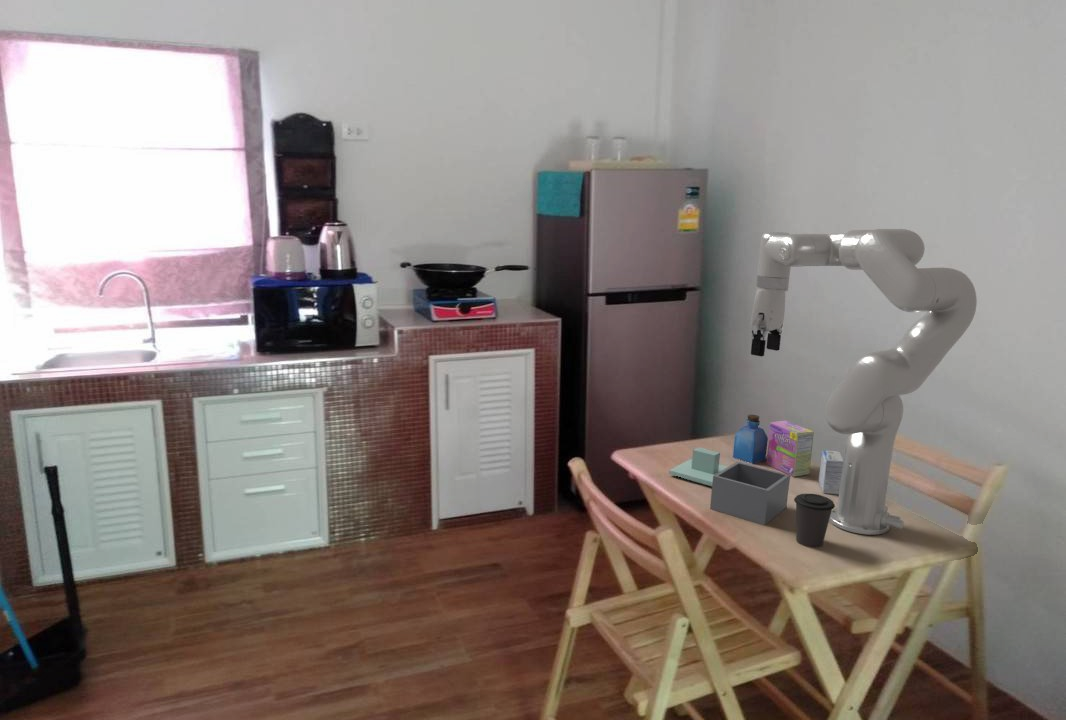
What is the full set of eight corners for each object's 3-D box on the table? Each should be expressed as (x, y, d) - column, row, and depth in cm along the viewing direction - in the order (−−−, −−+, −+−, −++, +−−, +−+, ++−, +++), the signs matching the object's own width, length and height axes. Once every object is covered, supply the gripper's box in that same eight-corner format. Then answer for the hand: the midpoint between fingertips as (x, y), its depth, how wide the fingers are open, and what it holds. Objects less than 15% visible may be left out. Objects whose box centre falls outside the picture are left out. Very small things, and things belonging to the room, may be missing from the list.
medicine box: (841, 495, 198) (845, 461, 196) (822, 493, 199) (826, 459, 197) (836, 484, 205) (840, 451, 204) (817, 482, 206) (821, 449, 204)
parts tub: (786, 507, 189) (790, 475, 187) (764, 525, 179) (768, 490, 177) (733, 492, 197) (737, 461, 195) (710, 508, 187) (713, 475, 185)
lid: (739, 477, 208) (741, 451, 207) (716, 491, 198) (719, 464, 197) (692, 464, 216) (694, 439, 215) (668, 477, 206) (670, 451, 204)
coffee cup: (782, 540, 172) (787, 496, 169) (800, 530, 177) (806, 486, 175) (818, 554, 166) (824, 508, 164) (836, 542, 172) (842, 498, 169)
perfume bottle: (746, 453, 226) (750, 411, 223) (765, 459, 221) (770, 417, 219) (732, 457, 222) (736, 415, 219) (751, 464, 217) (756, 420, 215)
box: (765, 464, 218) (769, 421, 215) (781, 461, 220) (786, 419, 218) (792, 477, 209) (797, 433, 206) (809, 475, 211) (815, 431, 208)
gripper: (771, 279, 207) (764, 345, 210) (743, 284, 193) (736, 355, 197) (800, 282, 202) (792, 349, 206) (773, 288, 189) (766, 360, 193)
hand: (765, 352), depth 202 cm, fingers open, 9 cm apart
